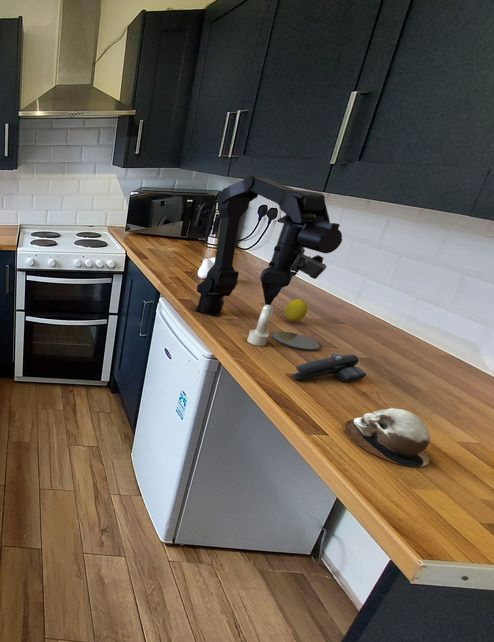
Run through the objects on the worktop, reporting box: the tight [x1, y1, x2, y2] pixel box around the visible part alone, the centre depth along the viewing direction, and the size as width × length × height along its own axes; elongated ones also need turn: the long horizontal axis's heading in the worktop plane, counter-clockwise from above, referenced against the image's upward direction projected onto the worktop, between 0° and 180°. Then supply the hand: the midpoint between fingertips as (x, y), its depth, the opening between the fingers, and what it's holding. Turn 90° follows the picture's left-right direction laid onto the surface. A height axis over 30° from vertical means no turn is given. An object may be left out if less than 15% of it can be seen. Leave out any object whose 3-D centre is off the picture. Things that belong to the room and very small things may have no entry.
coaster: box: [271, 331, 320, 352], centre depth 115 cm, size 11×11×1 cm
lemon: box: [284, 298, 308, 323], centre depth 127 cm, size 6×6×8 cm
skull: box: [344, 407, 431, 468], centre depth 75 cm, size 12×10×10 cm
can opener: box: [291, 352, 367, 383], centre depth 96 cm, size 18×7×6 cm, turn 100°
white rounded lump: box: [197, 256, 216, 280], centre depth 164 cm, size 11×12×9 cm
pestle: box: [246, 304, 274, 347], centre depth 111 cm, size 5×5×12 cm
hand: (271, 300), depth 108 cm, fingers open, 9 cm apart
